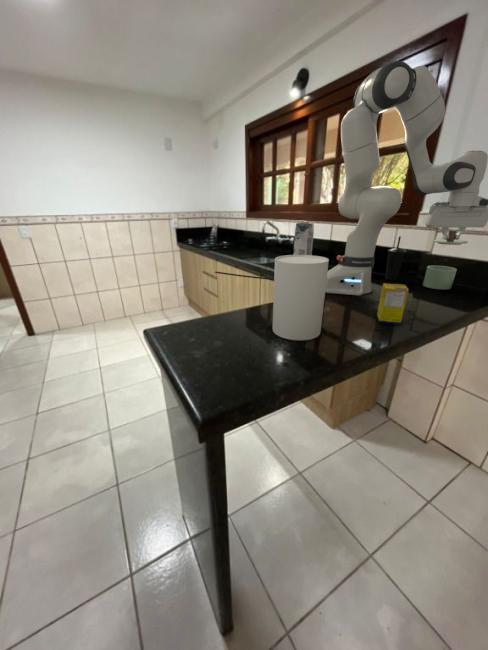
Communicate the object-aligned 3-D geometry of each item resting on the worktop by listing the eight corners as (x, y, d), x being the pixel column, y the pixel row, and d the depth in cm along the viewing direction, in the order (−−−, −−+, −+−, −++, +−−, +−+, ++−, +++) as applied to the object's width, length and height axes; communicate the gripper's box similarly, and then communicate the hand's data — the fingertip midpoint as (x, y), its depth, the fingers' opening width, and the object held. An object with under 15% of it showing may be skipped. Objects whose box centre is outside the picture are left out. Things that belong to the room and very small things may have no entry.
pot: (428, 290, 111) (434, 270, 107) (418, 284, 120) (423, 265, 116) (455, 291, 109) (462, 270, 106) (442, 284, 118) (448, 265, 115)
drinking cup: (402, 280, 126) (413, 237, 118) (386, 280, 126) (396, 237, 118) (394, 277, 133) (403, 235, 125) (379, 277, 133) (387, 235, 125)
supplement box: (396, 318, 82) (405, 284, 78) (400, 325, 77) (409, 289, 73) (376, 316, 84) (382, 282, 80) (378, 323, 79) (385, 287, 75)
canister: (262, 328, 76) (264, 258, 68) (294, 317, 84) (299, 253, 76) (297, 345, 66) (304, 266, 58) (330, 331, 74) (339, 259, 66)
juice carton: (310, 270, 149) (315, 219, 138) (308, 274, 140) (312, 220, 129) (295, 269, 152) (298, 219, 141) (291, 273, 143) (294, 220, 132)
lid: (441, 245, 102) (444, 231, 100) (427, 242, 112) (430, 229, 110) (473, 245, 100) (478, 231, 98) (456, 242, 110) (460, 229, 108)
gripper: (435, 202, 99) (425, 240, 104) (497, 200, 96) (483, 240, 101) (427, 202, 105) (418, 238, 110) (485, 201, 101) (473, 238, 107)
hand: (450, 239), depth 106 cm, fingers closed on lid, 2 cm apart
